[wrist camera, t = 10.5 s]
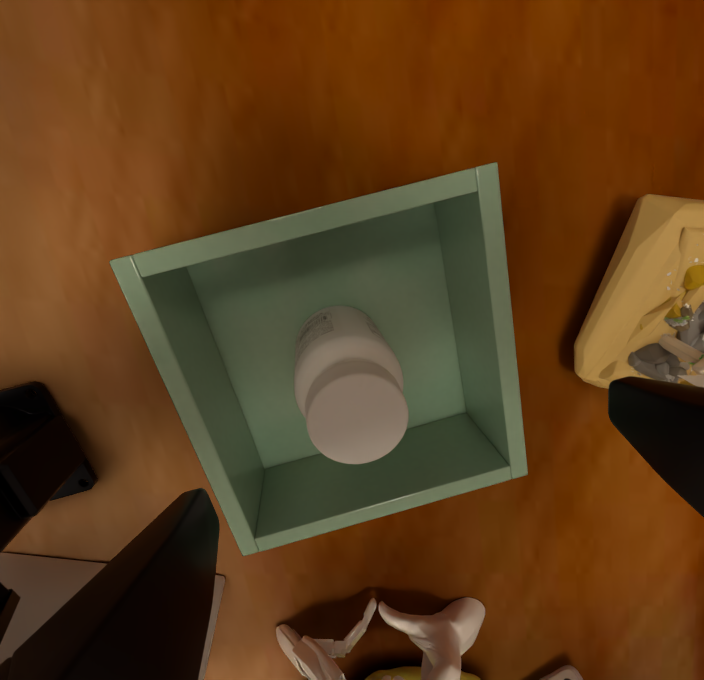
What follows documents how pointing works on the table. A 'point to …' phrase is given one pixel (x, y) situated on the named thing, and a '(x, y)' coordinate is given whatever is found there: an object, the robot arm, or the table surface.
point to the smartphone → (564, 674)
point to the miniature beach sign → (649, 299)
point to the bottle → (411, 674)
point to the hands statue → (424, 630)
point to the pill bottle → (349, 386)
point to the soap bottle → (61, 595)
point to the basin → (389, 317)
